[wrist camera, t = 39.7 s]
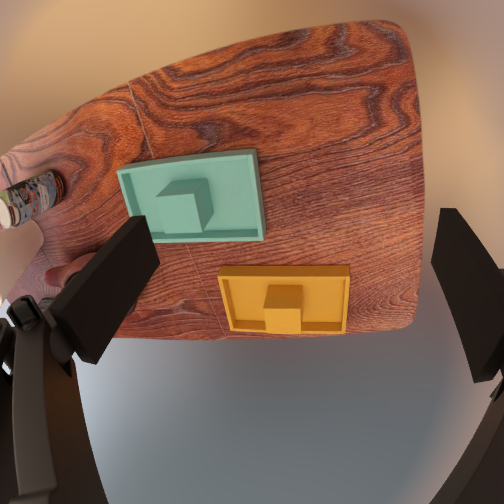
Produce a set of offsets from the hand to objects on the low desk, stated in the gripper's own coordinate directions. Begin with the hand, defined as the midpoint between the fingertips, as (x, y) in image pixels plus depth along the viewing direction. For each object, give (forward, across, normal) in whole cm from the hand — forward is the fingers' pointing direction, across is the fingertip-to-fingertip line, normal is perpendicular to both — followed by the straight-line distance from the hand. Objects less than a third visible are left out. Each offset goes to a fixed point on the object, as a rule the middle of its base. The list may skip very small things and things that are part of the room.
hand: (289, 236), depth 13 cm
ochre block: (+24, -4, -25) cm, 35 cm away
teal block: (+24, -15, -8) cm, 29 cm away
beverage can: (+25, -40, -3) cm, 47 cm away
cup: (+25, -52, -12) cm, 59 cm away
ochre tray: (+25, -4, -25) cm, 35 cm away
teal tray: (+25, -15, -8) cm, 30 cm away
